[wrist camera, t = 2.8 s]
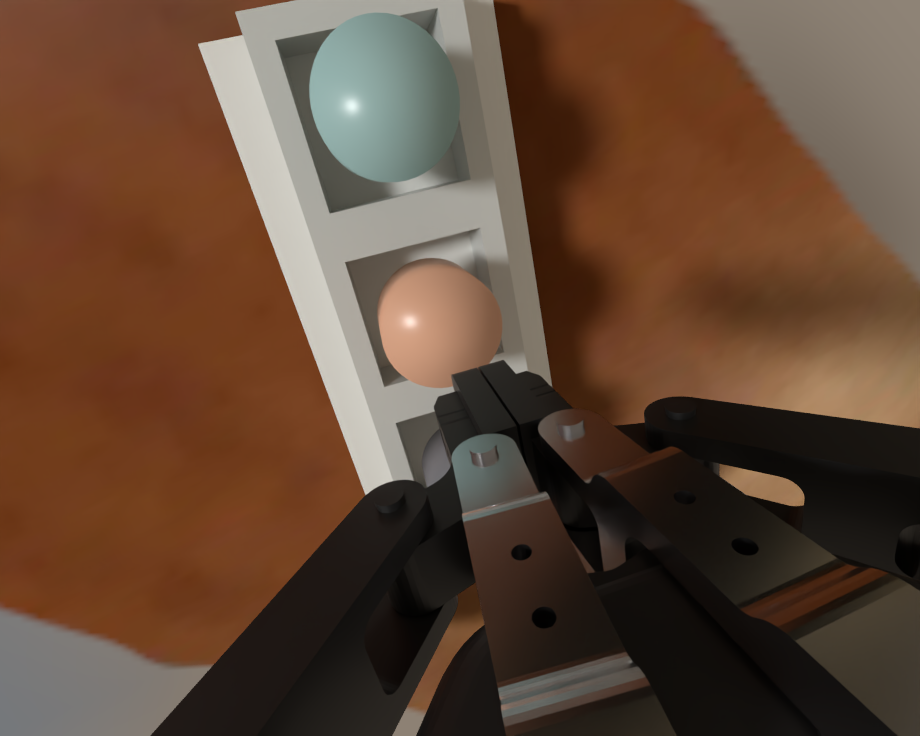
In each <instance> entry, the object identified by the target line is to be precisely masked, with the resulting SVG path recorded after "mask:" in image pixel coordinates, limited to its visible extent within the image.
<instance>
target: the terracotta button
mask: <svg viewBox="0 0 920 736" xmlns="http://www.w3.org/2000/svg"><path fill="white" fill-rule="evenodd" d="M377 318H378V324H379V329H380V334H381V339H382V344H383V348H384V351H385V353H386V356H387V358H388V359H389V361H390V363H391V364H392V365H393V367H394V368H395V369H396V370H397V371H398V372H399V373H400V374H401V375H402V376H404V377H405V378H406V379H408V380H410V381H412V382H414V383H416V384H418V385H422V386H425V387H431V388H446V387H452V386H453V383H452V378H451V375H452V374H455V373H459V372H462V371H466V370H469V369H473V368H477V369H478V367H480V366H483V365H487V364H489V363H490V362H491V360H492V359H493V357H494V355H495V354H496V352H497V349H498V347H499V344H500V341H501V336H502V315H501V311H500V308H499V305H498V303H497V300H496V299H495V297H494V295H493V294H492V292H491V291H490V290H489V289H488V288H487V287H486V286H485V285H484V284H483V283H482V282H481V281H479V280H478V279H477V278H476V277H474V276H473V275H472V274H470V273H469V272H468V271H466V270H465V269H464V268H462V267H461V266H459V265H457V264H456V263H454V262H451V261H448V260H445V259H440V258H424V259H418V260H415V261H412V262H410V263H408V264H406V265H404V266H402V267H401V268H399V269H398V270H397V271H396V272H395V273H394V274H392V276H391V277H390V278H389V279H388V280H387V282H386V283H385V285H384V287H383V289H382V291H381V293H380V296H379V300H378V305H377Z"/></svg>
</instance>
